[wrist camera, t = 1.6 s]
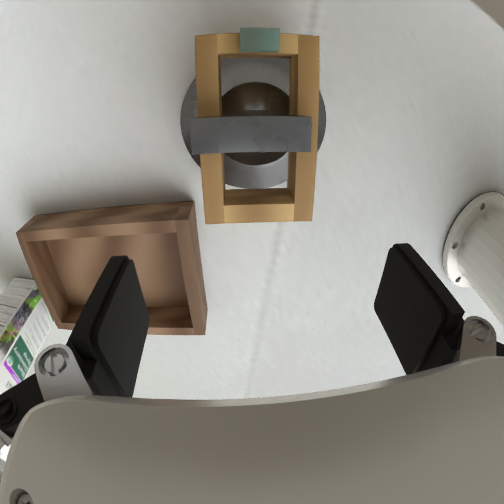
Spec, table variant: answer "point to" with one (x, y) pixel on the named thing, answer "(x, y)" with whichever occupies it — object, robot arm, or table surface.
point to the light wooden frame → (300, 103)
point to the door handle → (251, 123)
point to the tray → (118, 244)
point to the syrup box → (21, 330)
